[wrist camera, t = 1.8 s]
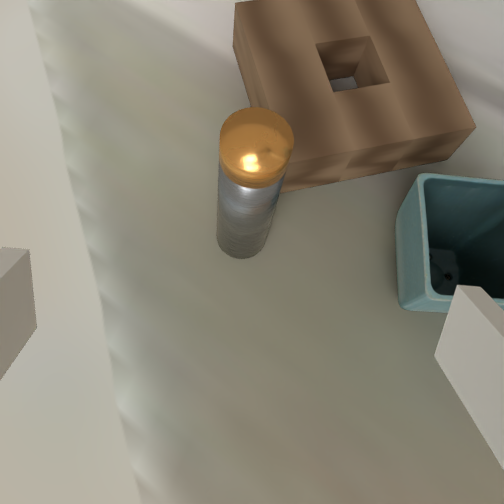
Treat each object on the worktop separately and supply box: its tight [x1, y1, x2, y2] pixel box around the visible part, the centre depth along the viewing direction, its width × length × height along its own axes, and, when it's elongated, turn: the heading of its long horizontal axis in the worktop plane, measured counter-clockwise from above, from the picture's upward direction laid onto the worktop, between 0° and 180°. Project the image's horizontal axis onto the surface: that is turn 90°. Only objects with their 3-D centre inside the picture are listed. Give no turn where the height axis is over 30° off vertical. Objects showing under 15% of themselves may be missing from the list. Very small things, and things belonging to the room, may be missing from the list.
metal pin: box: [217, 107, 294, 259], centre depth 32 cm, size 4×4×14 cm
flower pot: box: [395, 173, 504, 313], centre depth 34 cm, size 9×9×9 cm
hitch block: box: [233, 0, 476, 193], centre depth 41 cm, size 16×16×5 cm
